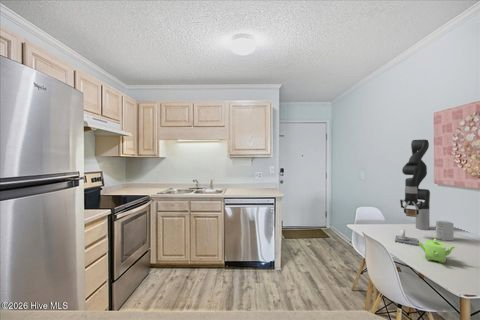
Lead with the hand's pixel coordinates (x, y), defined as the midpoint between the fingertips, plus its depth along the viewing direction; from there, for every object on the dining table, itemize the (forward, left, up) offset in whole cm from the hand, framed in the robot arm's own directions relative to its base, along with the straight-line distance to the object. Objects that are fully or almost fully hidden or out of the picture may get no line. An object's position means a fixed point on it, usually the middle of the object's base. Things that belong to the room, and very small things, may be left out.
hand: (411, 214), depth 178 cm
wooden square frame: (0, 0, -1) cm, 1 cm away
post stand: (+12, -3, -18) cm, 22 cm away
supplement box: (-9, +20, -18) cm, 28 cm away
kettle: (+38, +12, -18) cm, 44 cm away
